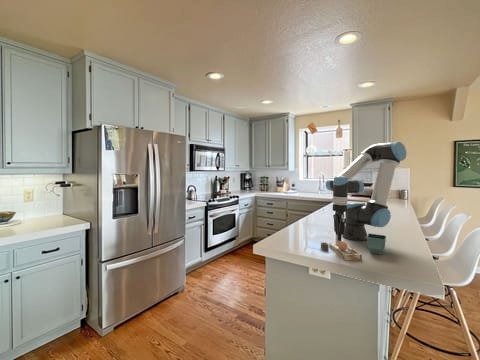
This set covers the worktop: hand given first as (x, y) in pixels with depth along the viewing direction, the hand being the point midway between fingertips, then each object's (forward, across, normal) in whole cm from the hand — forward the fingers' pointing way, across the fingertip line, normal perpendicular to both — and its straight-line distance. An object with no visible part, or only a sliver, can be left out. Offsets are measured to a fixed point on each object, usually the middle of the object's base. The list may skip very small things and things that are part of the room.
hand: (338, 245), depth 137 cm
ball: (-1, +4, +1) cm, 4 cm away
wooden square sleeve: (+2, 0, -8) cm, 8 cm away
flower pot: (+2, +4, +19) cm, 20 cm away
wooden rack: (+2, +11, +1) cm, 11 cm away
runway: (+2, 0, +1) cm, 3 cm away
